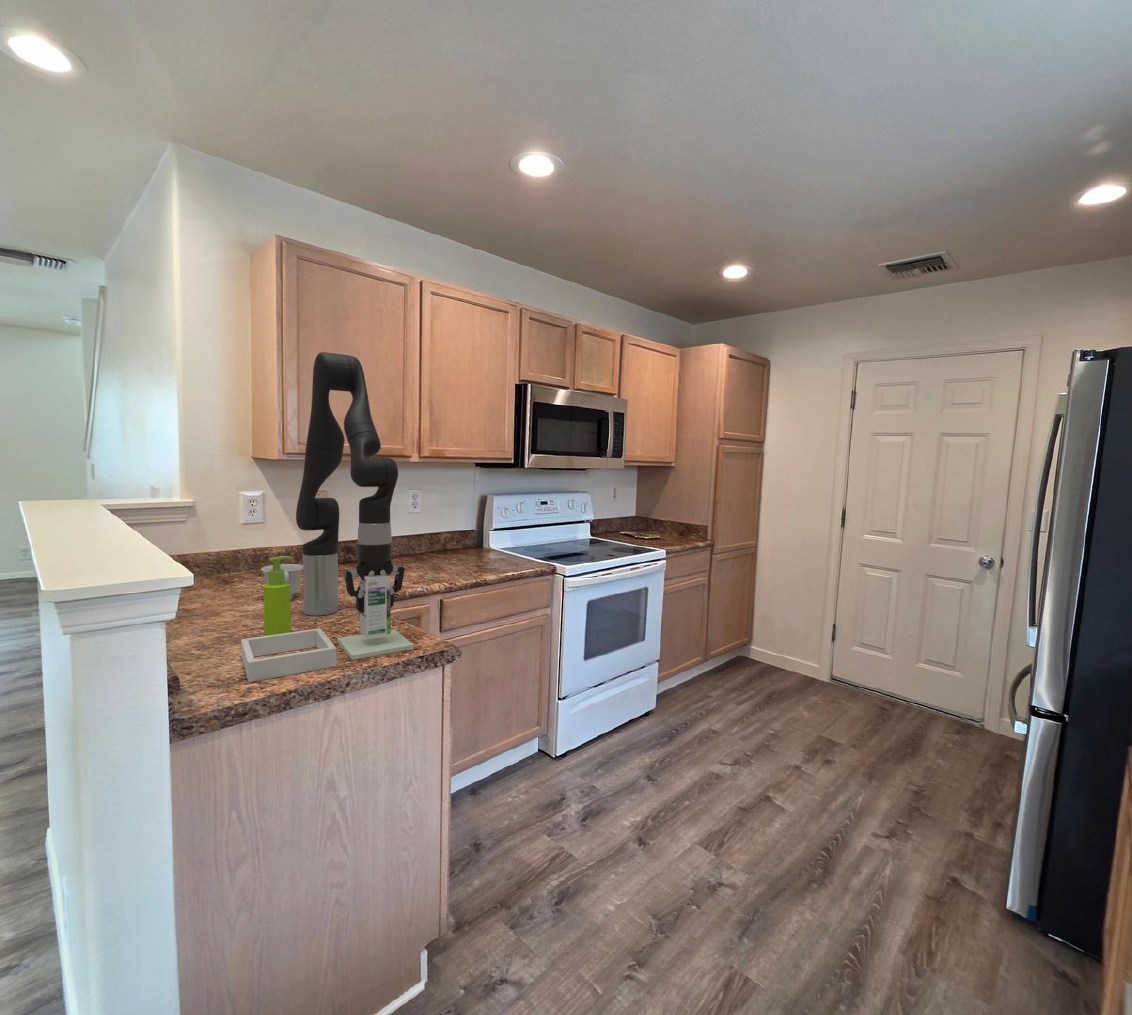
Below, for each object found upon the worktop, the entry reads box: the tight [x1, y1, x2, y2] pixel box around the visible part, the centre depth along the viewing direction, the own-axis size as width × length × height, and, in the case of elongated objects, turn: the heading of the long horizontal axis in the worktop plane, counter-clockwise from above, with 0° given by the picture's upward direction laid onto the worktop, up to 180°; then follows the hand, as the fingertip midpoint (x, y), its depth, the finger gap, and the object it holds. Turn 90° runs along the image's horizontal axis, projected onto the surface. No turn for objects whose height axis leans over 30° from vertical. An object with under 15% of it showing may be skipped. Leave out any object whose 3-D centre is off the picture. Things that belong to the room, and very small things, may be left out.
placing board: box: [337, 628, 415, 661], centre depth 130 cm, size 14×14×1 cm
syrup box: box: [358, 574, 392, 638], centre depth 129 cm, size 6×6×14 cm
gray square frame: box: [240, 627, 337, 683], centre depth 118 cm, size 16×16×4 cm
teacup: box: [260, 563, 303, 600], centre depth 169 cm, size 12×15×10 cm
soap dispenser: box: [262, 555, 295, 636], centre depth 135 cm, size 6×7×20 cm
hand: (374, 610), depth 130 cm, fingers closed on syrup box, 5 cm apart
